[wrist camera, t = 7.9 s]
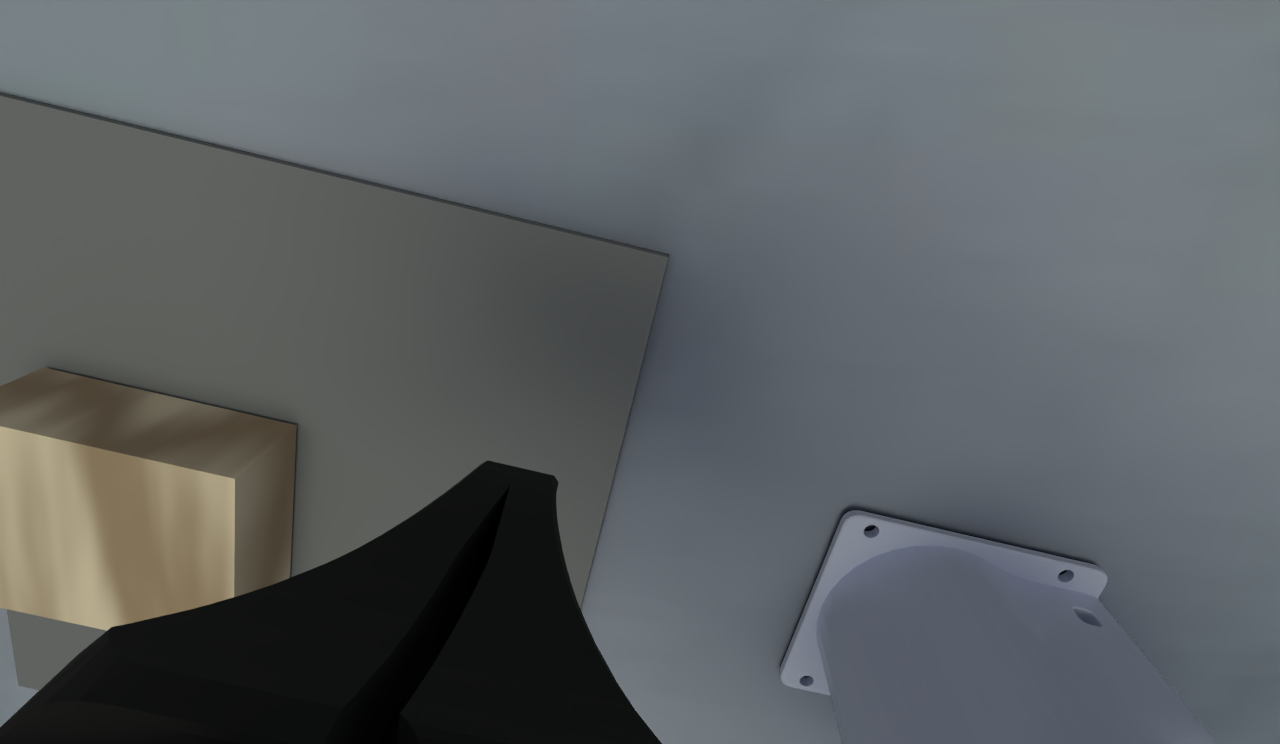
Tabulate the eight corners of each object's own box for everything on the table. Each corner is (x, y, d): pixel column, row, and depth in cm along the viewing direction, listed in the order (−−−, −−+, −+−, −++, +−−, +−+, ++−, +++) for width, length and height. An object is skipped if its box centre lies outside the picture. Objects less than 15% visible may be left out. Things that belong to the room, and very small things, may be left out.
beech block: (235, 478, 20) (-61, 412, 20) (233, 658, 23) (-27, 601, 22) (299, 423, 23) (47, 365, 23) (291, 584, 26) (65, 534, 26)
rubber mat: (668, 254, 21) (668, 257, 21) (535, 785, 30) (533, 794, 30) (-62, 77, 20) (-76, 77, 20) (27, 677, 29) (18, 685, 29)
